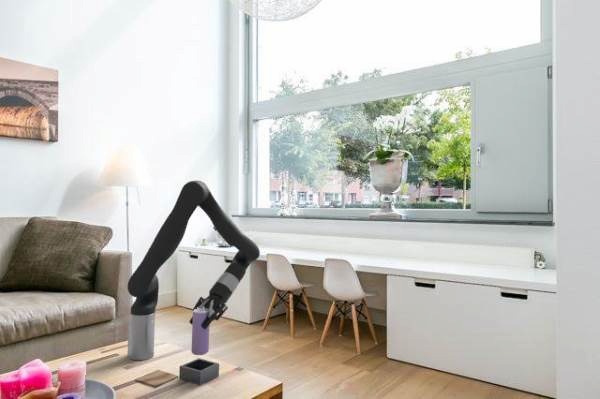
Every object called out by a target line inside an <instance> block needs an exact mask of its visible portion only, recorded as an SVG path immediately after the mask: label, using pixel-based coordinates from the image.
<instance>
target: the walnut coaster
mask: <svg viewBox="0 0 600 399" xmlns="http://www.w3.org/2000/svg"><path fill="white" fill-rule="evenodd" d="M177 379H179V375H176V374H173V373H170V372H166V371H163V370H162V369H156V370H155V371H154V370H153V371H152V372H149V373H147V374H145V375H142V376H140V377H137V378H135V382H138V383H141V384H144V385H147V386H150V387H153V388H158V387H161V386H163V385H166V384H167V383H171V381H174V380H177Z"/></svg>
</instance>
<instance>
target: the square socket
mask: <svg viewBox="0 0 600 399" xmlns="http://www.w3.org/2000/svg"><path fill="white" fill-rule="evenodd" d="M178 374H179V375H178V379H179V380H181V381H184V382H188V383H191V384H194V385H196V386H202V385H205V384H207V383H208V382H210V381H212V380H215V379H217V377H219V376H220V363H219V362H215V361H212V360H208V359H204V358H201V357H200V358H196V359H194V360H191V361H189V362H186V363H184V364H181V365H179V373H178Z"/></svg>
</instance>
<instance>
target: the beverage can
mask: <svg viewBox="0 0 600 399" xmlns="http://www.w3.org/2000/svg"><path fill="white" fill-rule="evenodd" d="M192 311H193V312H192V317H193V321H192V325H191V330H192V331H191V353H192V354H193V355H195V356H204V355H207V354H208V352H209V350H210V329H211V328H210V326H211V325H209V326H208V327H207V328H206V329H203V328H202V327H201V325H202V323H203V322H204V320H205V319H206V318H207V317H208V314H209V309H206V308H204V307H203V308H198V307H197V309H194V310H193V309H192Z"/></svg>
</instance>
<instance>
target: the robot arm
mask: <svg viewBox="0 0 600 399" xmlns="http://www.w3.org/2000/svg"><path fill="white" fill-rule="evenodd" d="M198 207H199V208H200V209H201V210H202V211H203V212H204V213H205V214H206V215H207V217H208V218H209V219H210V220H209V221H210V222H211V223H212V225H213V227H214V228H215V230H216V232H217V233H218V234H219V236H220V237H221V238H222V239H223V240H224V241H225V242H226V244H227V245H229V246H230V247H234V248H236V249H237V252H236V254H235V255H234V257H233V258H232V261H231V262H230V264H229V265H228V266H227V268H225V270H224V271H223V273H222V274H221V275H220V276H219V277H218V278H217V280H216V281H215V283H214V284H213V285H212V287H211V288H210V290H209V291H208V294H209V295H207V297H205V298H204V297H203V296H200V297H199V299H198V300H197V302H196V304H195V305H194V307H193V308H192V311H193V310H194V309H198V308H206V309H209V314H208V317H207V318H206V319H205V320H204V322H203V323H202V325H201V327H202V328H203V329H206V328H207V327H208V326H209V325H210V324H211V323H212V322H214V321H217V322H218V321H219V319H221V317H222V316H223V315H224V314H225V313H226V311H227V310H228V308H229V306H227V303H228V302H229V300H230V298H231V297H232V295H233V294H234V292H235V290H237V288H238V285H239V284H240V283H241V280H242V279H244V276H245V274H246V273H247V270H248V268H249V266H250V265H251V264H252V263H253V262H255V261H256V260H258V259H259V258H260V255H261V253H260V251H261V250H260V248H259V246H258V245H257V244H256V242H254V241H253V240H252V239H251V238H249V236H247V235H246V234H244V233H243V232H242V231H241V230H240V228H239V227H238V226H237V224H235V222H234V221H233V220H232V219H231V218H230V217H229V215H228V214H227V213H226V212H225V211H224V209H223V208H222V207H221V205H219V203H218V202H217V200H216V198H215V197H214V195H213V194H212V192H211V190H210V188H209V187H208V185H207V184H206V183H205V182H203V181H201V180H191V181H188V182H186V183H185V184H184V185H183V186H182V188H181V190H180V192H179V195H178V196H177V199H176V201H175V204H174V206H173V208H172V210H171V212H170V213H169V215H168V216H167V217H166V219H165V221H164V222H163V224H162V225H161V227H160V229H159V230H158V232H157V234H156V236H155V237H154V239H153V241H152V243H151V245H150V247H149V248H148V250H147V252H146V253H145V255H144V257H143V258H142V261H141V262H140V263H139V265H138V267H137V268H136V269H135V270H134V272H133V273H132V275H131V276H130V277H129V279H128V282H127V291H128V293H129V295H130V296H131V297H134V298H135V301H134V302H133V303H132V304H131V306H130V316H129V317H130V318H129V320H130V321H129V331H128V333H127V357H128V358H129V359H130V360H134V361H144V360H148V359H151V358H153V357H154V355H155V330H156V329H155V328H156V327H155V326H156V308H157V305H158V301H159V289H160V284H159V278H158V276H157V273H158V271H159V270H160V268H161V267H162V266H163V265H164V264H165V263H166V262H167V261H168V260H169V259H170V258H171V257H172V256H173V254H174V253H175V252H176V251H177V248H178V247H179V245H180V243H181V242H182V240H183V238H184V236H185V233H186V229H187V227H188V223H189V221H190V218H191V217H192V216H193V214H194V213H195V210H196V209H197V208H198ZM192 321H193V316H192V317H191V318H189V322H188V323H190V324H191V326H192ZM210 326H211V325H210Z"/></svg>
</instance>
